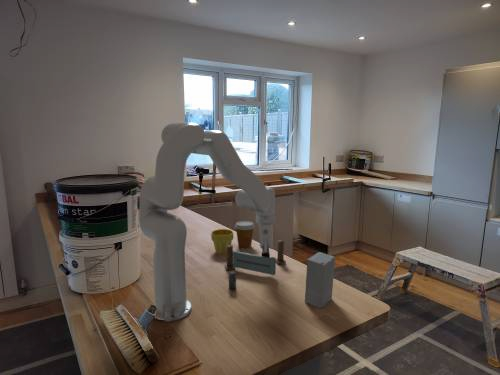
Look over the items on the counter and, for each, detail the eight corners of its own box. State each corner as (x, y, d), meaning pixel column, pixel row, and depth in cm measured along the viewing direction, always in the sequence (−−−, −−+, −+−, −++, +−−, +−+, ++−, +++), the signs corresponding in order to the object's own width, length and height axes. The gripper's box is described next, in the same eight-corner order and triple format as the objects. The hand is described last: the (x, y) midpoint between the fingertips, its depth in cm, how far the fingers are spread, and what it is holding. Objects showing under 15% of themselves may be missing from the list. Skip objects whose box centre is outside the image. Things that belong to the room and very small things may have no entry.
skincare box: (315, 293, 115) (317, 250, 112) (334, 299, 110) (336, 255, 108) (303, 303, 108) (304, 258, 106) (322, 310, 104) (324, 263, 101)
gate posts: (229, 290, 117) (229, 264, 115) (219, 268, 136) (218, 245, 134) (302, 280, 125) (303, 255, 123) (282, 260, 144) (283, 239, 142)
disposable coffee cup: (256, 244, 165) (256, 221, 163) (251, 250, 156) (251, 226, 154) (238, 242, 167) (238, 220, 165) (232, 249, 158) (232, 225, 156)
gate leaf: (233, 266, 133) (233, 251, 132) (235, 265, 135) (234, 250, 134) (273, 275, 125) (274, 259, 124) (275, 273, 127) (275, 257, 126)
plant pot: (219, 257, 147) (219, 237, 146) (207, 251, 155) (207, 231, 153) (237, 252, 154) (237, 232, 152) (225, 246, 162) (225, 227, 160)
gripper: (275, 223, 120) (275, 270, 123) (274, 213, 135) (274, 255, 138) (255, 224, 120) (256, 270, 124) (256, 213, 135) (256, 255, 138)
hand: (265, 262), depth 131 cm, fingers closed
